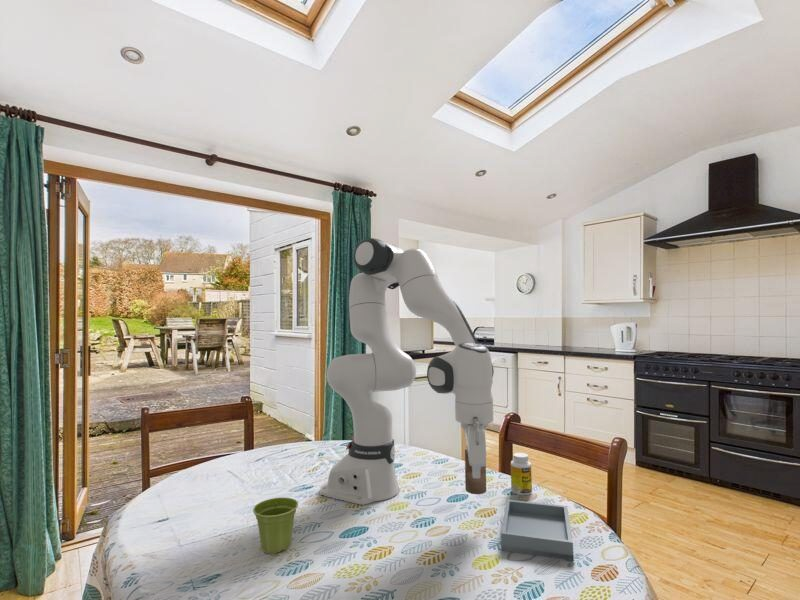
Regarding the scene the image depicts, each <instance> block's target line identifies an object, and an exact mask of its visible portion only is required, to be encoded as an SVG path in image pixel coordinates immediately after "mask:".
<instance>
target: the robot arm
mask: <svg viewBox="0 0 800 600" xmlns="http://www.w3.org/2000/svg"><path fill="white" fill-rule="evenodd" d="M353 263H354V265H355V267H356V268H357V270H359V271H360V272H361V273H358V274H355V275H354V276H353V277H352V279H351V281H350V285H349V298H348V302H349V303H348V307H349V308H348V310H349V311H348V312H349V325H350V326H349V327H350V333H351V335H352V337H353V338H354V339H356V340H357V341H359V342H361V343H363V344H365V345H367V346H368V347H369V348H370V350H371V353H353V354H345V355H340V356H337V357H334V358H332V360H331V361H330V362H329V364H328V366H327V369H326V381H327V383H328V385H329V388H331V389H332V391H334V392H335V393H337V394H338V395H339V396H340V397H341V398H342V399H343V400H344V401H345V402H346V404H347V406H348V407H349V408H348V409H349V410H350V412H351V417H352V424H353V438H352V439H351V441H350V442H348V444H346V446H345V447H346V448H345V450H346V451H347V450H348V454H346V455H345V456H344V457H342V458H341V459H340V460H339V461H337V462H336V463H335V464H333V466H332V467H331V469H330V471H329V474H328V478H327V481H325V482H324V483H323V484H322V485H321V486H320V489H319V495H320V494H321V496H322V495H324V496H323V497H326V496H327V497H326V498H330V497H332V498H331V499H335V498H336V500H339V499H340V500H339V501H343V500H344V502H347V503H353V504H356V505H360V506H361V505H368V504H371V503H374V502H380V501H385V500H387V499H388V500H389V499H391V498H393V497H395V496H396V495H397V494H399V492H400V486H399V483H398V482H399V481H398V479H397V475H396V474H397V473H396V469H395V468H396V467H395V457H396V448H395V439H393V432H394V431H393V414H392V412H391V410H390V409H389V408H388V407H387V406H385V405H382V404H381V403H378V402H377V401H374V400H373V399H372V396H371V395H372V393H376V392H378V393H379V392H391V391H394V392H395V391H399V390H402V389H405V388H409V387H411V385H412V384H413V383H414V381H415V379H416V375H417V367H416V363H415V362H414V359H413V358H412V357H411V356H410V355H409V354H408V353H406V352H405V351H403V349H401V348H400V347H399V346H398V345H397V343H396V342H395V341H394V338H393V337H392V334H391V332H390V326H389V322H388V314H387V304H386V290H387V288H388V289H390V290H394V289H397V288H398V287H399V288H400V293H401V296H402V299H403V302H404V304H405V307H406V308H407V309H408V310H409V311H410V312H411V313H412V314H414V315H415V316H417V317H419V318H421V319H426V320H429V321H431V322H434V323H436V324H438V325H440V326H442V327H443V328H444V329H445V330H446V331H447V332H448V333H449V334H448V335H450V337H451V340H452V341H453V343H454V346H455V348H454V349H453V350H451V351H449V352H446V353H444V354H441V355H438V356H434V357H433V358H432V359H431V360H430V362H429V363H428V365H427V370H426V376H427V377H426V378H427V382H428V384H429V386H430V388H432V390H433V391H434V392H435V393H438V394H443V395H447V394H454V397H455V398H454V403H455V405H454V410H455V411H454V412H455V421H456V422H458V423H460V427H461V428H462V429H463V431H464V437H465V444H466V449H467V452H468V459H469V464H470V466H472V477H473V478H480V470H481V467H484V466H486V467H487V440H486V431H485V430H487V429H488V428H489V424H491V423H493V422H494V398H493V395H492V386H493V383H494V382H493V378H494V373H495V372H494V370H495V369H494V365H493V362H492V357H491V353H490V350H489V349H488V347H487V346H485V345H482V344H480V343H479V341H478V340H477V338H476V335H475V334H474V332H473V330H472V329H471V328H472V327H471V326H470V324H469V322H468V321H467V318H466V317H465V315H464V313H463V311H462V309H461V307H460V306H459V305H458V304H457V302H455V301H454V300H453V299H452V298H450V296H449V295H448V293H447V292H446V290H445V289H444V287H443V286H442V284H441V282H440V279H439V277H438V274H437V271H436V269H435V267H434V265H433V263H432V261H431V260H430V258H429V257H428V255H427V253H426V252H425V251H423V250H422V249H420V248H409V249H407V250H406V249H405V250H403V249H401V248H400V247H398V246H396V245H394V244H391V243H388V242H385V241H383V240H381V239H379V238H373V237H372V238H370V237H368V238H365V239H363V240H361V241H359V243H358V244H357V245H356V246H355V250H354V251H353ZM476 444H477V445H476ZM478 444H479V445H478Z"/></svg>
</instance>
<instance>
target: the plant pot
mask: <svg viewBox="0 0 800 600" xmlns="http://www.w3.org/2000/svg"><path fill="white" fill-rule="evenodd" d="M298 506H299V502H298V500H296V499H294V498H290V497H275V498H274V497H273V498H268V499H264V500H263V501H262V500H261V502H258V503H257V504H256V505H254V507H253V510H252V511H253V514H254V515H255V519H256V520H257V527H258V533H259V540H260V541H259V542H260V547H261V548H262V549H261V550H262V551H263V552H264V551H265V552H267V553H266V554H278V553H277V552H279V553H280V552H282V551H287V550H288V549H289V548H290V547H289V546H291V543H292V535H293V528H294V522H295V514H296V512H297V508H299V507H298ZM288 547H289V548H288ZM287 548H288V549H287ZM265 552H264V553H265Z"/></svg>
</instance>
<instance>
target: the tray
mask: <svg viewBox="0 0 800 600" xmlns="http://www.w3.org/2000/svg"><path fill="white" fill-rule="evenodd" d="M505 501H506V502H505V508H504V514H503V520H502V527H501V533H500V534H501V535H500V540H501V542H500V543H501V551H504V552H511V553H518V554H525V555H533V556H539V557H547V558H551V559H552V558H553V559H559V560H561V559H562V560H566V561H567V560H568V561H574V543H573V542H574V541H573V535H572V529H571V523H570V514H569V510H568V505H559V504H551V503H541V502H533V501H531V502H530V501H522V500H514V499H512V500H511V499H506V500H505Z"/></svg>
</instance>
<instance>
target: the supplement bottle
mask: <svg viewBox="0 0 800 600" xmlns="http://www.w3.org/2000/svg"><path fill="white" fill-rule="evenodd" d="M512 459H513V460H512ZM512 459H511V461H510V482H511V483H510V486H511V487H510V488H511V492H512V493H513V494H515V495H518V496H529V495H531V494H532V492H533V491H532V490H533V484H532V483H533V482H532V481H533V480H532V463H531V462H530V461H529V455H528V453H524V452H515V453H513V458H512Z"/></svg>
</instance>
